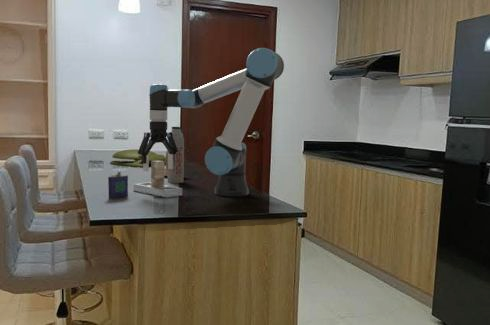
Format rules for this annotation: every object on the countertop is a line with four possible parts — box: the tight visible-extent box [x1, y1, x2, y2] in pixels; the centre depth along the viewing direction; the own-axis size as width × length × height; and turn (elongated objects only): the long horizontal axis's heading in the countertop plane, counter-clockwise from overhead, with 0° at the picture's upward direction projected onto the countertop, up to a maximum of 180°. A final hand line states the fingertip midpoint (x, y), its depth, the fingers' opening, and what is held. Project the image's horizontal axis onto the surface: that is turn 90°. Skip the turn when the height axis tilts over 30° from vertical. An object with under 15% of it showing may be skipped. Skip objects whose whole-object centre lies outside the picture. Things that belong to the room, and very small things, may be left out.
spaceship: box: [109, 148, 166, 169], centre depth 310 cm, size 35×31×10 cm
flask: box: [107, 171, 129, 200], centre depth 188 cm, size 9×3×11 cm, turn 144°
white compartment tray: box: [133, 181, 183, 198], centre depth 203 cm, size 22×9×3 cm, turn 50°
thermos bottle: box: [167, 126, 185, 184], centre depth 235 cm, size 8×8×28 cm
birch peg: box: [150, 160, 165, 188], centre depth 202 cm, size 4×4×14 cm
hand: (158, 170), depth 202 cm, fingers open, 13 cm apart
